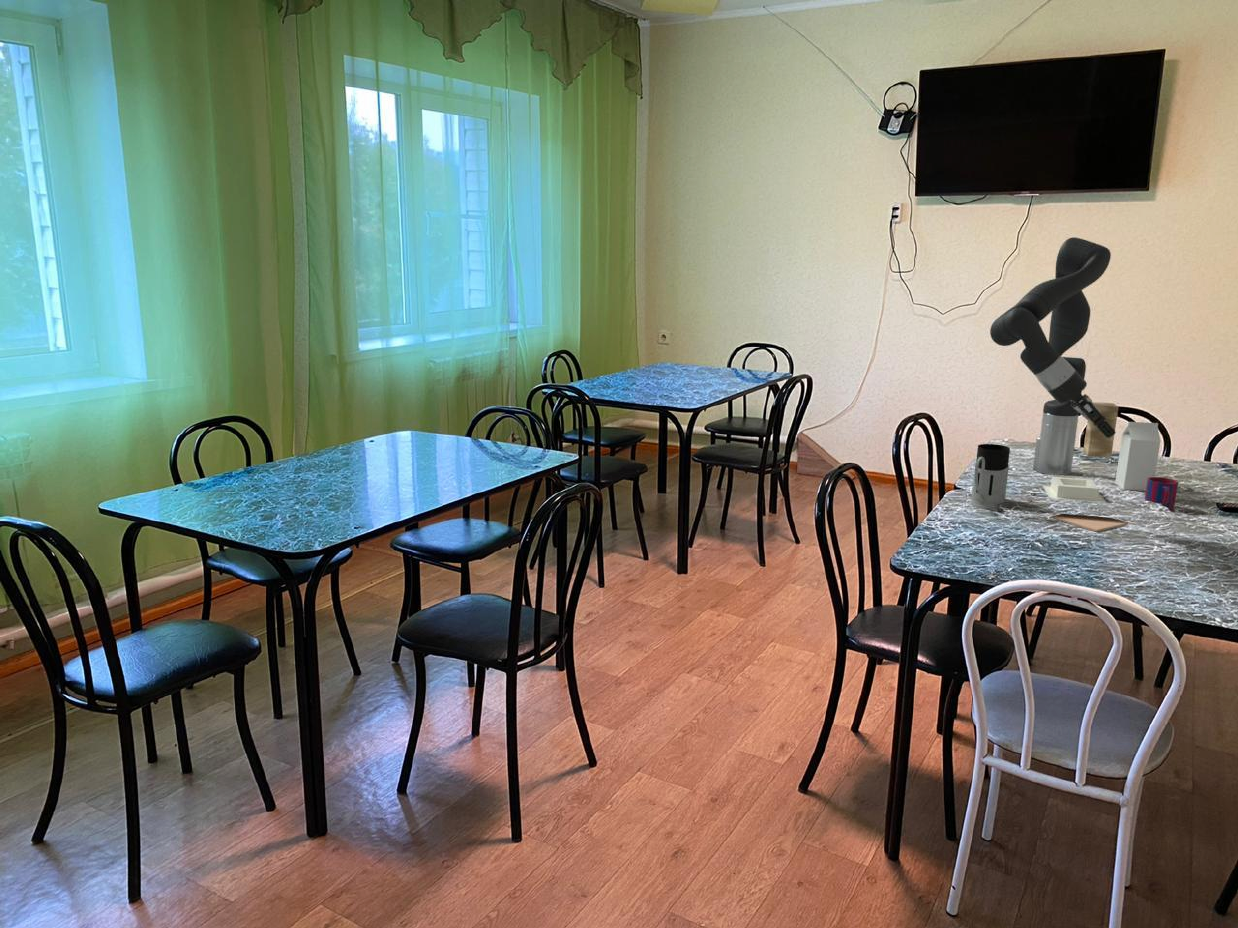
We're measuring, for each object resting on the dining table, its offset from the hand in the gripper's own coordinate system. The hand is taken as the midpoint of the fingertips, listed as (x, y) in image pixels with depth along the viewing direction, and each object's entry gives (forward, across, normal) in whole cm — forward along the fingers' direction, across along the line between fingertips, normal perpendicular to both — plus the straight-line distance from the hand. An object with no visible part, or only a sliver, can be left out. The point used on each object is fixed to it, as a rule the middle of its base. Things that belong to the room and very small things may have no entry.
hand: (1108, 432), depth 216 cm
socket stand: (+14, +20, +16) cm, 29 cm away
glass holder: (-2, +5, +33) cm, 34 cm away
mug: (+28, +18, +2) cm, 34 cm away
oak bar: (+2, 0, +5) cm, 6 cm away
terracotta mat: (+14, 0, +16) cm, 22 cm away
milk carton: (+26, +32, +4) cm, 42 cm away
